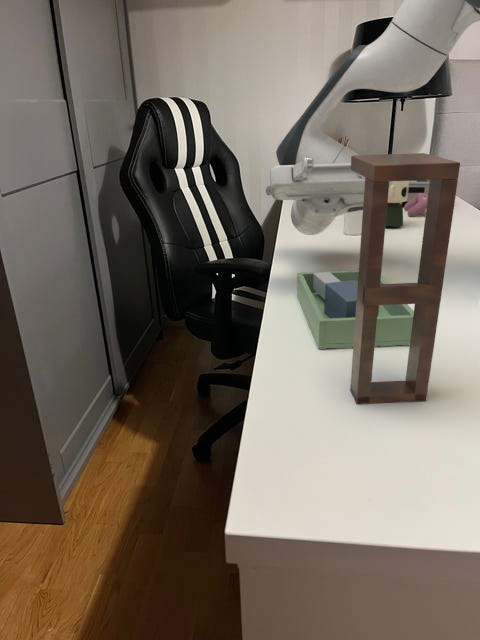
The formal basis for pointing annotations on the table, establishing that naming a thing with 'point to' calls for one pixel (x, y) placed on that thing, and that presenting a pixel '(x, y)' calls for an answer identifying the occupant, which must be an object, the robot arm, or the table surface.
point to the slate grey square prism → (336, 295)
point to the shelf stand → (419, 293)
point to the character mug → (396, 203)
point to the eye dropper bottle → (353, 222)
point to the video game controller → (417, 204)
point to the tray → (340, 331)
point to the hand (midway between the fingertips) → (339, 161)
